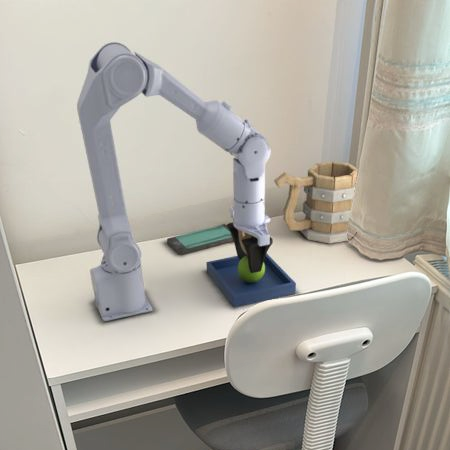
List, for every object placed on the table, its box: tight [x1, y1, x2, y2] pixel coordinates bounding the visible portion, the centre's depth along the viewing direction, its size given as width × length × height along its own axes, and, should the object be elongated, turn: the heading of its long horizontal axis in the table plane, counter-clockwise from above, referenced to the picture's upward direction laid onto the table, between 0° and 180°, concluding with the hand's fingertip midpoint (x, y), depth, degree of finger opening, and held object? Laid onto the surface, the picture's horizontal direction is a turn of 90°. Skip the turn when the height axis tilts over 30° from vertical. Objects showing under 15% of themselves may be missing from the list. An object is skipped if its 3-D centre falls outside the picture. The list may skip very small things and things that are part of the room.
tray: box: [205, 252, 297, 308], centre depth 127 cm, size 15×13×2 cm
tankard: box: [274, 160, 359, 245], centre depth 139 cm, size 20×13×15 cm, turn 108°
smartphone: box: [166, 223, 234, 256], centre depth 142 cm, size 7×1×15 cm
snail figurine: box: [238, 229, 265, 283], centre depth 124 cm, size 5×6×12 cm
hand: (249, 264), depth 125 cm, fingers closed on snail figurine, 5 cm apart
